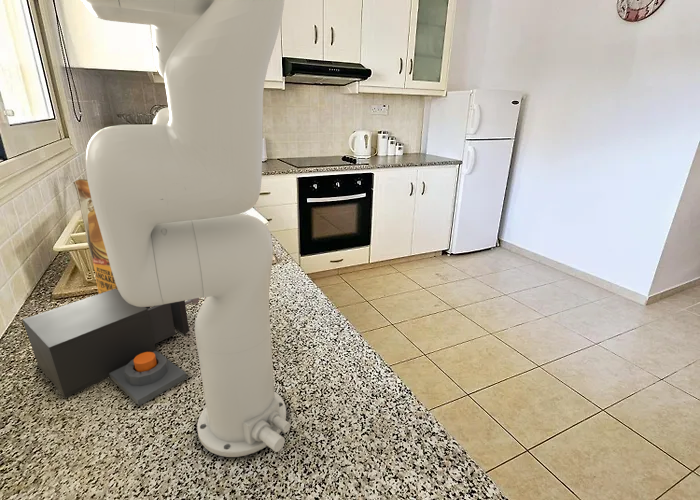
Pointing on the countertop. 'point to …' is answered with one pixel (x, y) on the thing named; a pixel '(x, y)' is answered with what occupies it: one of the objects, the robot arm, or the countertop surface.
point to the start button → (145, 361)
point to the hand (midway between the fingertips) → (203, 258)
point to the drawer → (169, 319)
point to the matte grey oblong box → (88, 339)
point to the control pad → (147, 379)
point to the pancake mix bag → (94, 238)
